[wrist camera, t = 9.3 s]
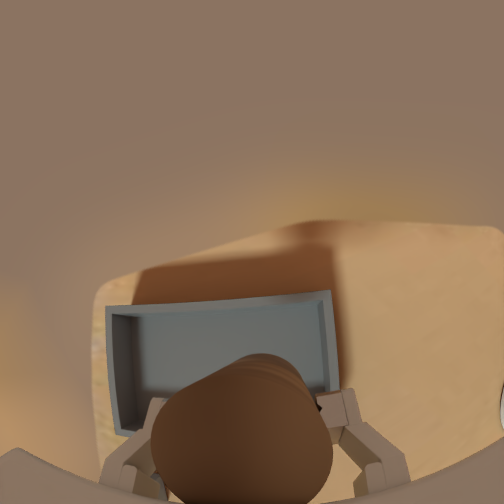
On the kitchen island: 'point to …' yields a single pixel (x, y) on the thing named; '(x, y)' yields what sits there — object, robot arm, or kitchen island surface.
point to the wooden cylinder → (243, 437)
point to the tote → (212, 345)
